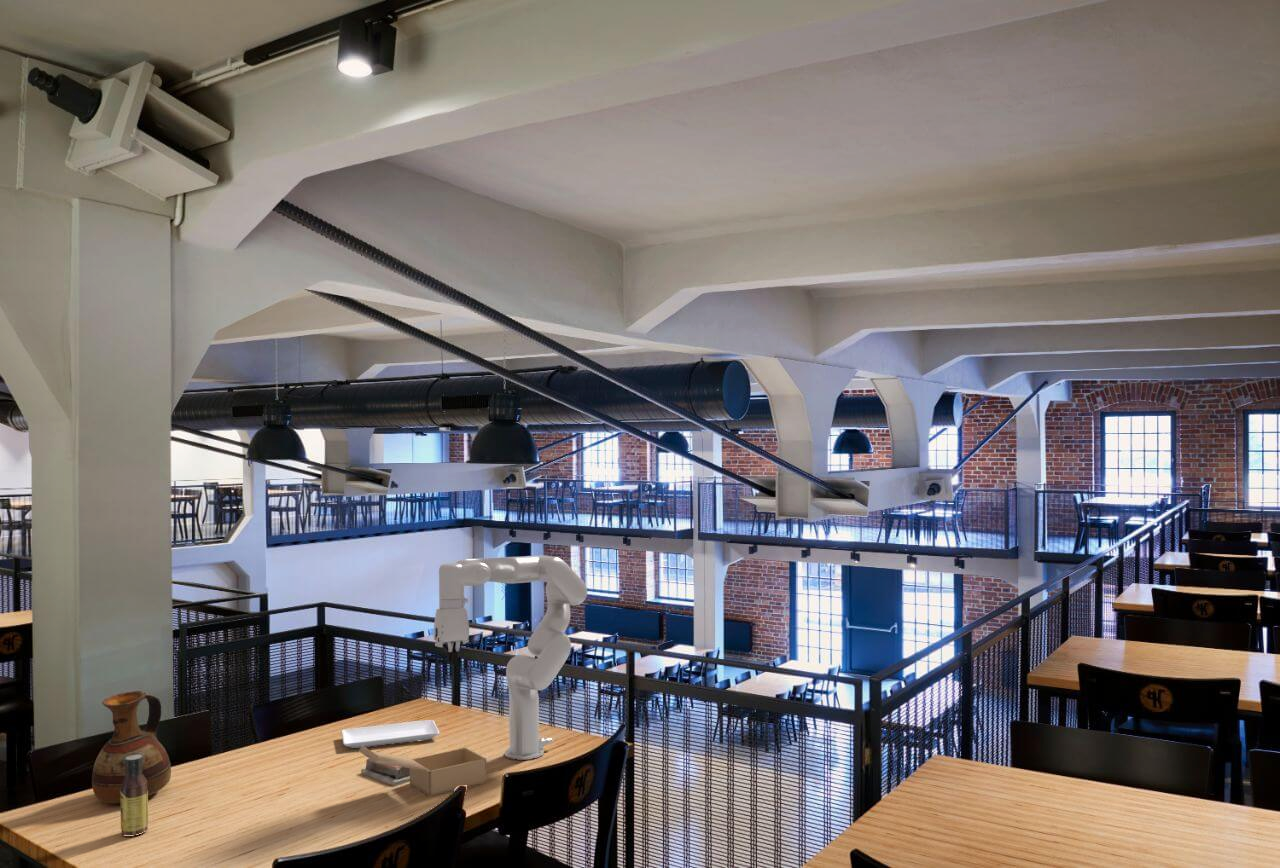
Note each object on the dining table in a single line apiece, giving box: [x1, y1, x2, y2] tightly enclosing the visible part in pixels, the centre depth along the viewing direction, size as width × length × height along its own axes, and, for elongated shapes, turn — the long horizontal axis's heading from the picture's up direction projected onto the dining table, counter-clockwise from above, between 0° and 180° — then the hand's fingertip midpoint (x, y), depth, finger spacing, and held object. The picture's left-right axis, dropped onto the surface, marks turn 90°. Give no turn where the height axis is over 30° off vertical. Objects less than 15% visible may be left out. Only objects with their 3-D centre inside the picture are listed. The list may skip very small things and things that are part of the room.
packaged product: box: [360, 758, 410, 787], centre depth 283 cm, size 18×5×10 cm
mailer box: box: [409, 747, 488, 798], centre depth 275 cm, size 18×14×7 cm
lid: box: [358, 745, 427, 770], centre depth 265 cm, size 16×14×2 cm
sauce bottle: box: [120, 755, 149, 836], centre depth 241 cm, size 7×6×20 cm
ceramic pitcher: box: [91, 690, 172, 804], centre depth 269 cm, size 20×20×30 cm
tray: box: [340, 719, 440, 749], centre depth 319 cm, size 17×31×4 cm, turn 110°
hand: (452, 664), depth 285 cm, fingers closed
